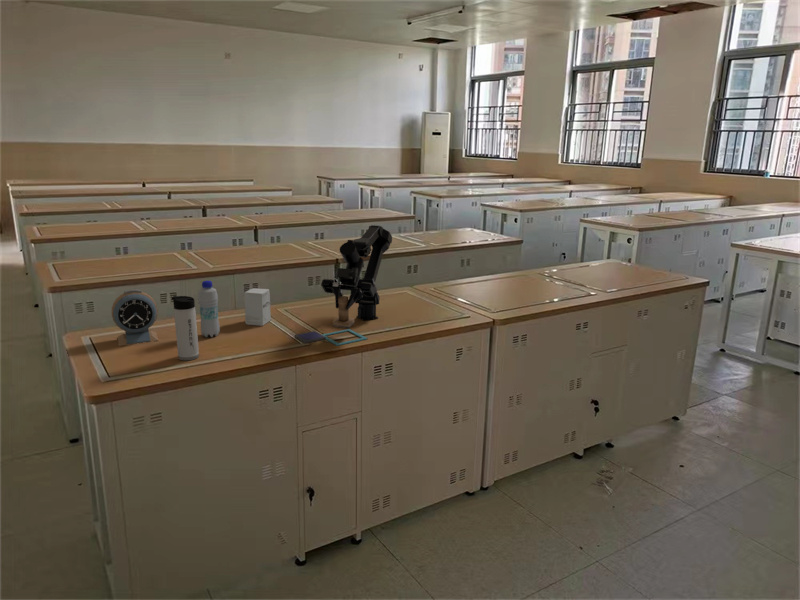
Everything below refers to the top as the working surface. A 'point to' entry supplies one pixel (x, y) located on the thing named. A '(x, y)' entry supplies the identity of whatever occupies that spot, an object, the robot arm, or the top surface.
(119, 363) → the top surface
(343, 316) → the stamp
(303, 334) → the ink pad
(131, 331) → the alarm clock
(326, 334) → the frame
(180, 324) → the travel mug
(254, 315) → the supplement box
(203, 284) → the bottle
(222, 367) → the top surface
